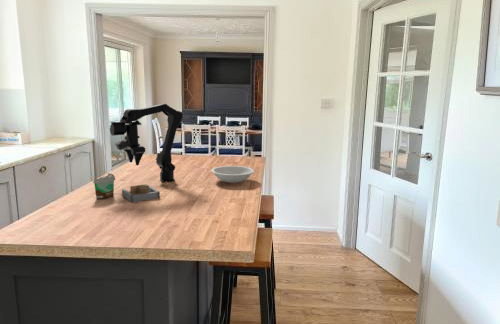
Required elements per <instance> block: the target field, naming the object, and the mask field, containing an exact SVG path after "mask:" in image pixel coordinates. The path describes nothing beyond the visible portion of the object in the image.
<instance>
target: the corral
mask: <svg viewBox="0 0 500 324" xmlns="http://www.w3.org/2000/svg"><path fill="white" fill-rule="evenodd" d="M121 195H122V197H124V198H125V199H126V200H127V201H128V202H129V203H136V202H142V201H149V200H154V199H155V200H156V199H160V198H161V195H160V191H159V190H158V189H156V188H154V187H153V186H151V185H149V193H143V194H136V195H132V194H131V192H130V191H129V190H127V189H125V188H121Z"/></svg>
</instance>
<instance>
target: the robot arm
mask: <svg viewBox="0 0 500 324" xmlns="http://www.w3.org/2000/svg"><path fill="white" fill-rule="evenodd" d="M158 113H163V114H164V115H165V116H167V120H166V121H167V130H166V133H165V137H164V141H163V145H162V150H161V151H160V152H157V153H156V158H155V163H156V165H157V166H158V167H159V169H160V172H159V177H160V179H159V180H160V181H162V182H164V183H167V182H174V181H176V179H175V175H174V174H175V173H174V171H175V169H176V165H174V164H173V163H172V149H173V145H174V141H175V137H176V134H177V133H176V132H177V129H178V127H179V126H180V124H181V123H182V120H183V117H184V115H183V113H182V111H179V110H176V109H175V108H173V107H171V106H169V105H168V104H167V103H159V104H156V105H151V106H146V107H144V108H128V109H125V110H124V112H123V115H122V117H121V119H120V120H119V121H111V122H110V128H109V133H110V135H111V136H112V137H113V136H123V135H125V134H126V135H125V136H124V139H122V140H119V141H117V142H115V143H114V145H115V146H116V150H119V151H121V150H123V151H124V152H125V153H126V155H127V158H128V161H129V163H133V161H134V162H135V166H139V165H140V163H141V160H142V158H143V156H144V154H145V153H146V148H145V146H143V145H141V144H140V143H139V139H140V135H139V132H138V131H139V130H138V126H141V125H142V123H141V122H140V121H139V120H140V119H143V117H146V116H150V115H154V114H158Z"/></svg>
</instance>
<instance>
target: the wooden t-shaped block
mask: <svg viewBox="0 0 500 324" xmlns="http://www.w3.org/2000/svg"><path fill="white" fill-rule="evenodd" d="M149 186H150V185H149V184H148V183H145V184H138V185H137V184H136V185H131V186H130V187H129V190H130V191H129V193H131V194H132V195H136V194H143V193H149Z"/></svg>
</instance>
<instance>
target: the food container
mask: <svg viewBox="0 0 500 324" xmlns="http://www.w3.org/2000/svg"><path fill="white" fill-rule="evenodd" d="M115 181H116V176H115V175H114V174H113V173H111V172H110V173H107V175H105V176H101V177H99V178H93V184H94V190H95V191H94V192H95V198H96V200H108V199H110V198H111V199H112V198H113V197H114V196H115V195H114V191H115V190H114V189H115V188H114V187H115Z"/></svg>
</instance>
